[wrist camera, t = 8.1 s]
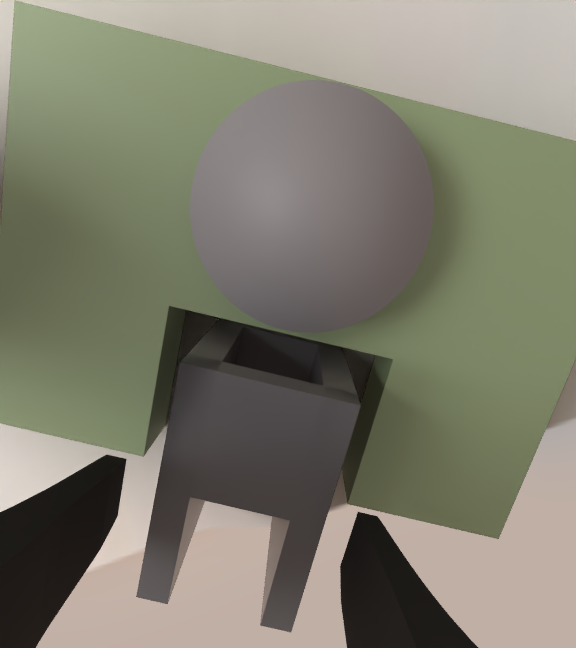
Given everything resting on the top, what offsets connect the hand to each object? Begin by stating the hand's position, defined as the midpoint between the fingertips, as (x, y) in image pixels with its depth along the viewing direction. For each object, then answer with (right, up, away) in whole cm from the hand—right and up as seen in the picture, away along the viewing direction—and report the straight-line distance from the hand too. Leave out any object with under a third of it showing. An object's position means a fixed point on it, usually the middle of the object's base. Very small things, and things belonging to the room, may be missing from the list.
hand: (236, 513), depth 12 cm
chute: (0, +2, +5) cm, 6 cm away
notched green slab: (+2, +7, +4) cm, 8 cm away
